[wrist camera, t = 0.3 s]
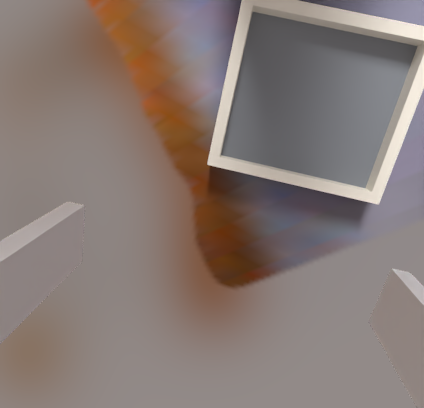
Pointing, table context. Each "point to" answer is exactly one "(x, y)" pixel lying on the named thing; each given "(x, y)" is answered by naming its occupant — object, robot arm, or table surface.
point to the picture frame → (318, 96)
